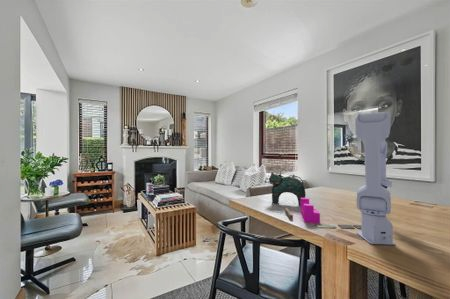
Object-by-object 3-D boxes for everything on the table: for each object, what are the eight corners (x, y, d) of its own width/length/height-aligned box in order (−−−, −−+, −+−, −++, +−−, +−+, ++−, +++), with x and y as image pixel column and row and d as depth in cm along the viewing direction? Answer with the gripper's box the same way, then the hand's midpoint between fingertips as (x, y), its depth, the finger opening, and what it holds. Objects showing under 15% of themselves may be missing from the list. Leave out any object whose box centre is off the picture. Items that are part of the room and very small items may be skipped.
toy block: (319, 223, 93) (319, 206, 93) (304, 222, 95) (304, 205, 95) (314, 213, 108) (314, 198, 108) (300, 212, 109) (300, 197, 109)
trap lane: (370, 229, 86) (370, 224, 86) (294, 226, 89) (294, 222, 89) (346, 213, 107) (346, 209, 107) (285, 212, 110) (285, 208, 110)
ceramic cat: (268, 203, 127) (268, 169, 127) (271, 201, 133) (271, 168, 133) (305, 207, 119) (305, 170, 119) (305, 204, 125) (305, 169, 125)
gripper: (399, 170, 86) (399, 205, 86) (377, 167, 101) (377, 197, 101) (380, 170, 87) (380, 204, 87) (361, 167, 101) (361, 196, 101)
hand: (377, 200), depth 94 cm, fingers closed
